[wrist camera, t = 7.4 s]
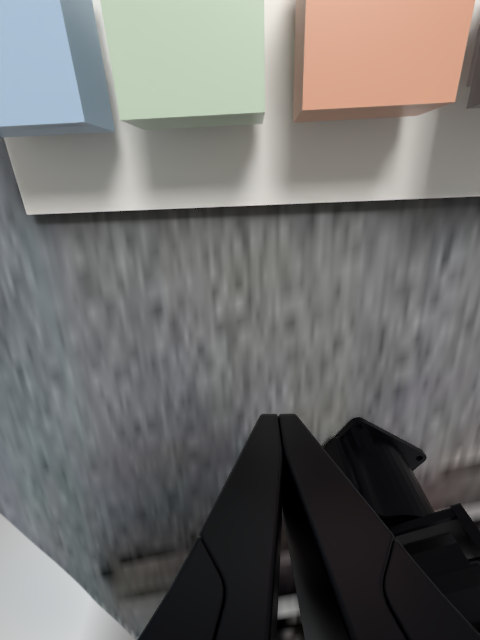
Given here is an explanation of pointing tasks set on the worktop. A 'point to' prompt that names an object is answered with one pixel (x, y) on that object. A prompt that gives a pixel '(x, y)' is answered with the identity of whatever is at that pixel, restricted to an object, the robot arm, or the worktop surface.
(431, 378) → the worktop surface
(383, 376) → the worktop surface
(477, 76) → the key charcoal
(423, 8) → the key terracotta
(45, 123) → the key blue
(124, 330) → the worktop surface
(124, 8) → the key sage
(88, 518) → the worktop surface
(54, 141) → the keypad
